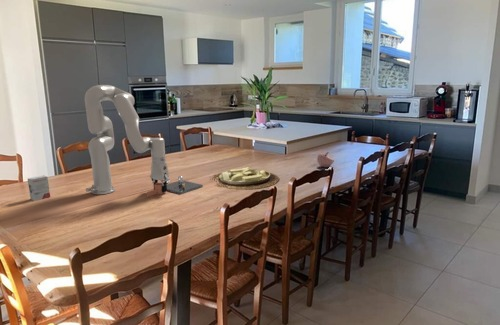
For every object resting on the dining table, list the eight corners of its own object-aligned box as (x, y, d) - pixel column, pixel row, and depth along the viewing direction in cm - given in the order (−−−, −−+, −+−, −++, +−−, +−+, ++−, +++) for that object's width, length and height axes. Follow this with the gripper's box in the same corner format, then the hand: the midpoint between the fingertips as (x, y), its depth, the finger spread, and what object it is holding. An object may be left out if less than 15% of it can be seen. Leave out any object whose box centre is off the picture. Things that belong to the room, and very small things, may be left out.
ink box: (46, 195, 205) (44, 174, 202) (50, 197, 202) (48, 176, 199) (30, 199, 199) (27, 178, 196) (33, 201, 196) (30, 179, 193)
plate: (291, 176, 244) (291, 166, 242) (257, 197, 207) (257, 185, 205) (234, 168, 266) (233, 159, 265) (194, 185, 229) (194, 175, 227)
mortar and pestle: (335, 169, 261) (335, 153, 259) (318, 169, 262) (318, 153, 259) (331, 165, 273) (332, 150, 270) (315, 165, 273) (316, 150, 271)
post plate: (180, 194, 206) (179, 182, 204) (159, 188, 216) (158, 177, 215) (202, 186, 220) (202, 175, 219) (181, 181, 230) (181, 171, 229)
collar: (151, 197, 201) (150, 188, 200) (144, 195, 204) (143, 186, 203) (168, 191, 210) (167, 183, 209) (161, 190, 214) (160, 181, 213)
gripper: (174, 160, 203) (175, 192, 207) (153, 156, 213) (155, 186, 217) (163, 163, 198) (165, 195, 202) (143, 159, 207) (145, 189, 212)
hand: (160, 190), depth 209 cm, fingers closed on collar, 6 cm apart
